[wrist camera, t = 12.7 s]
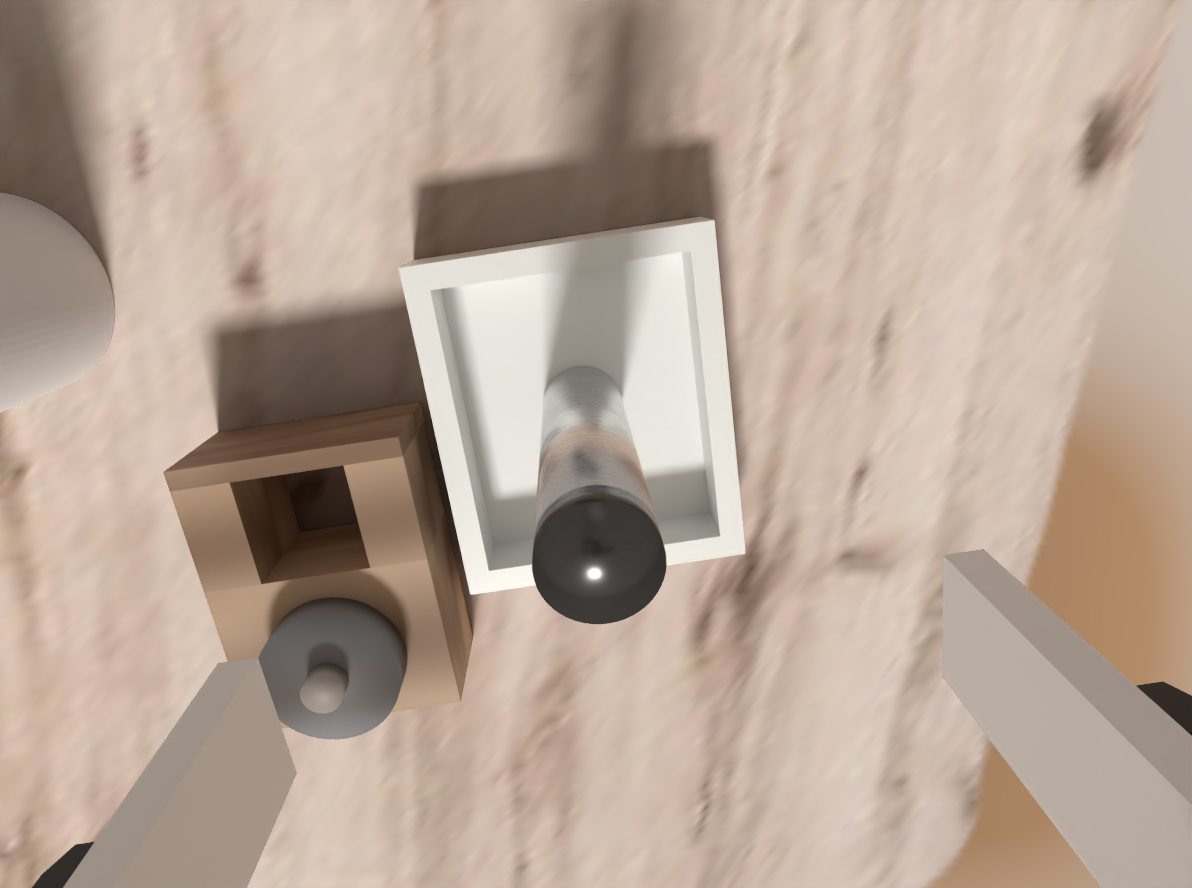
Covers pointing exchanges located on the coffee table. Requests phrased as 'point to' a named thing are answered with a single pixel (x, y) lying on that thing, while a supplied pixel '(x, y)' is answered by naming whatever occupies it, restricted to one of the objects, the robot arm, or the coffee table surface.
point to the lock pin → (593, 505)
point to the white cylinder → (48, 302)
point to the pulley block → (330, 568)
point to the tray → (568, 339)
